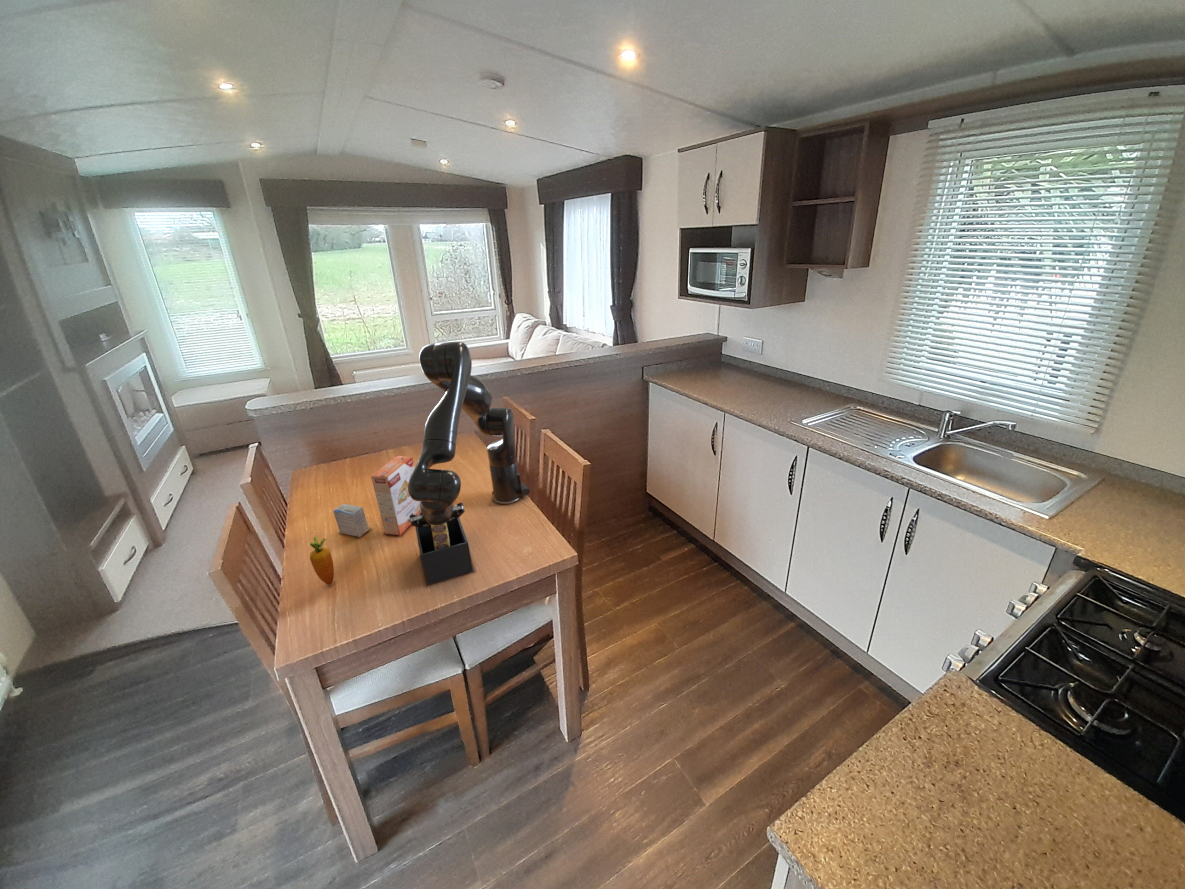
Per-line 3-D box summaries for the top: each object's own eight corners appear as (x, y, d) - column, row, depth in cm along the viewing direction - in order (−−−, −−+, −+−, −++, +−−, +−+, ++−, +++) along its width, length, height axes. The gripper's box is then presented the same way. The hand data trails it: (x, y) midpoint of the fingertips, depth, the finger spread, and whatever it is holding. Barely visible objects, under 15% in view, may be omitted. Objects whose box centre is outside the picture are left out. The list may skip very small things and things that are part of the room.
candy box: (454, 563, 130) (445, 516, 124) (438, 567, 129) (427, 520, 123) (451, 545, 138) (442, 500, 132) (436, 548, 137) (426, 503, 130)
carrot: (324, 579, 130) (309, 534, 124) (343, 577, 131) (328, 532, 124) (316, 591, 126) (300, 545, 120) (336, 590, 126) (320, 544, 120)
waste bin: (463, 543, 143) (458, 516, 139) (473, 571, 131) (468, 542, 127) (421, 555, 139) (415, 527, 135) (427, 585, 127) (420, 555, 123)
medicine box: (370, 529, 151) (363, 506, 147) (359, 538, 147) (352, 514, 144) (350, 525, 154) (343, 502, 150) (339, 533, 150) (332, 510, 146)
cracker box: (401, 536, 147) (387, 477, 139) (384, 534, 149) (369, 475, 140) (424, 511, 160) (413, 456, 151) (408, 510, 161) (395, 454, 152)
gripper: (462, 485, 120) (461, 503, 135) (403, 498, 115) (408, 516, 130) (469, 513, 117) (467, 528, 133) (409, 528, 112) (414, 542, 128)
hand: (438, 522), depth 131 cm, fingers closed on candy box, 4 cm apart
